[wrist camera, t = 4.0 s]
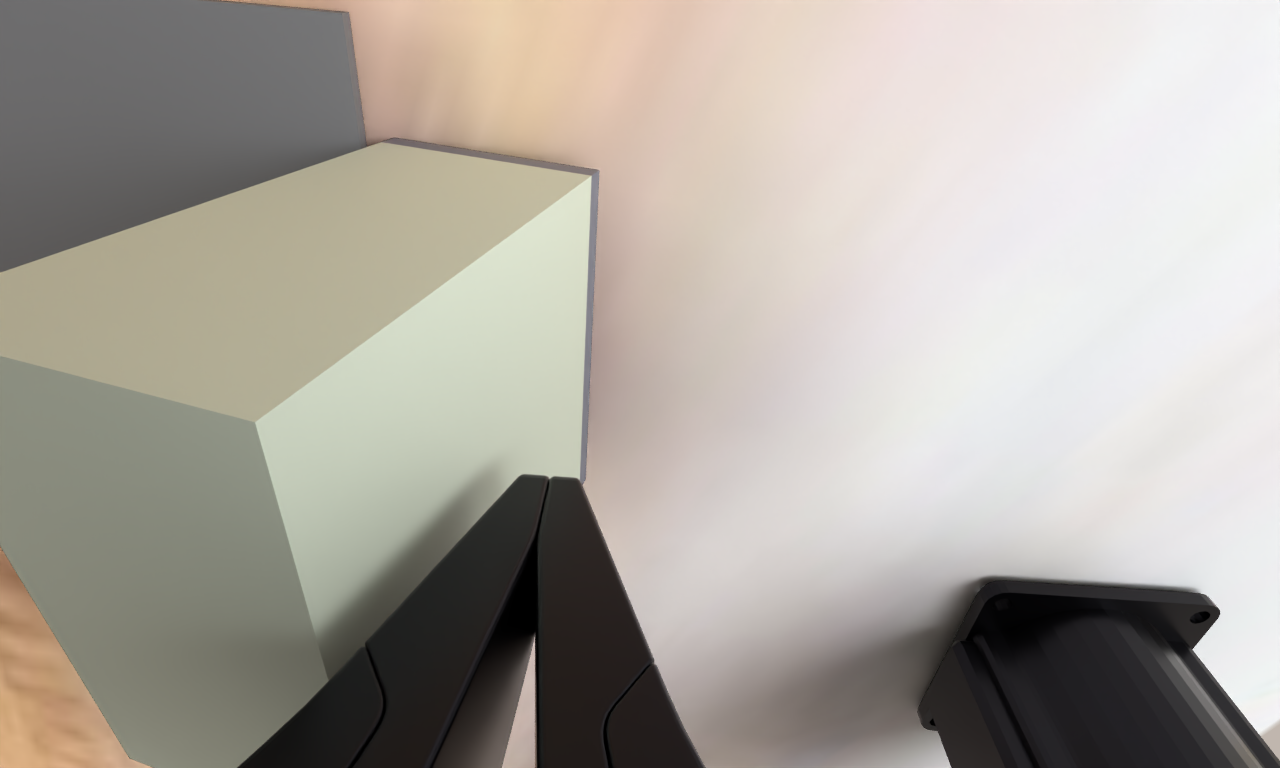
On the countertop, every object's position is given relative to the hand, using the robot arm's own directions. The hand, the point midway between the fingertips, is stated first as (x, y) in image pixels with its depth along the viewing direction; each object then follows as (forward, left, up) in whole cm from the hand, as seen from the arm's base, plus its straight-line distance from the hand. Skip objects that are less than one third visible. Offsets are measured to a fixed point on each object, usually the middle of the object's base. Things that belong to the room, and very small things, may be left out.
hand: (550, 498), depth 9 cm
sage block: (+2, 0, -5) cm, 5 cm away
